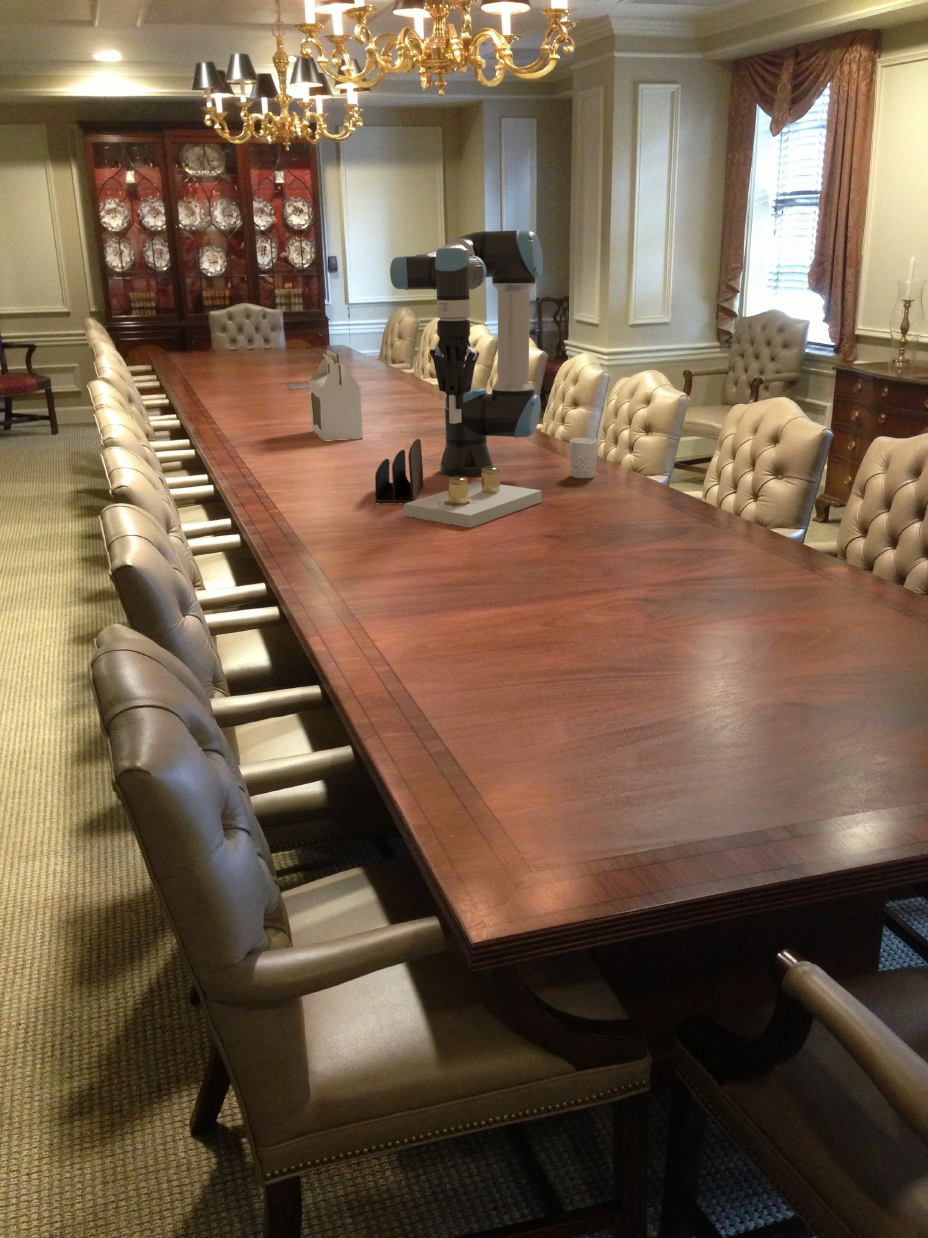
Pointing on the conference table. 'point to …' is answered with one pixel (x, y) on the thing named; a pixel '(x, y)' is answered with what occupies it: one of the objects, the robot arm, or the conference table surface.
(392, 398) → the conference table surface
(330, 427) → the gable box
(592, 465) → the white cup
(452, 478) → the loose bushing
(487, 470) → the cylinder
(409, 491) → the letter holder
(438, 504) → the jig plate
